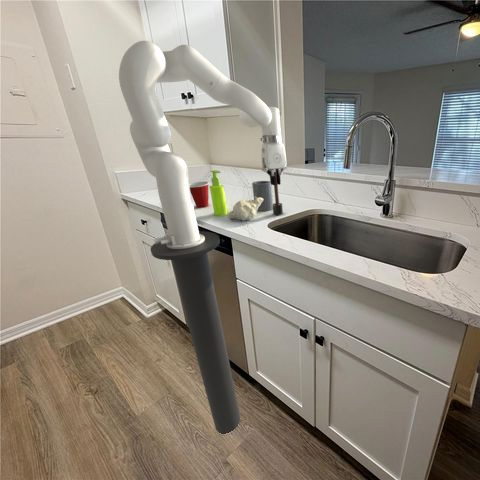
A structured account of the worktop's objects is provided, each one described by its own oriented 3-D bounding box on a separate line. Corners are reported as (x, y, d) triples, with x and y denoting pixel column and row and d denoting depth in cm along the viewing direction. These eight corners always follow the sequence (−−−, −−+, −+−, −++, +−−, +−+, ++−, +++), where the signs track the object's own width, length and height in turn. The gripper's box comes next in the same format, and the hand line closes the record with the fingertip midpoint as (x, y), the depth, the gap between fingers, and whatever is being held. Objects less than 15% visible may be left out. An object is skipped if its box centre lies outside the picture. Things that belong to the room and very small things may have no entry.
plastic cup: (187, 206, 136) (182, 183, 131) (208, 202, 142) (204, 180, 138) (194, 210, 128) (189, 186, 124) (216, 206, 135) (212, 183, 130)
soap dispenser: (219, 216, 118) (211, 171, 110) (212, 213, 122) (204, 170, 115) (231, 213, 122) (224, 170, 114) (223, 211, 126) (217, 169, 119)
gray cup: (261, 212, 124) (258, 184, 119) (251, 208, 130) (248, 182, 125) (277, 208, 129) (274, 182, 124) (266, 205, 135) (264, 180, 130)
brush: (277, 215, 117) (273, 172, 110) (271, 213, 120) (267, 171, 113) (284, 213, 120) (281, 171, 113) (279, 211, 123) (275, 170, 116)
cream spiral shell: (229, 229, 108) (254, 207, 104) (219, 215, 109) (244, 192, 105) (249, 228, 123) (271, 208, 119) (240, 216, 124) (263, 196, 120)
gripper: (260, 141, 100) (265, 188, 108) (292, 139, 110) (294, 183, 118) (250, 140, 105) (255, 186, 113) (282, 139, 115) (284, 181, 123)
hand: (275, 184), depth 115 cm, fingers closed on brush
